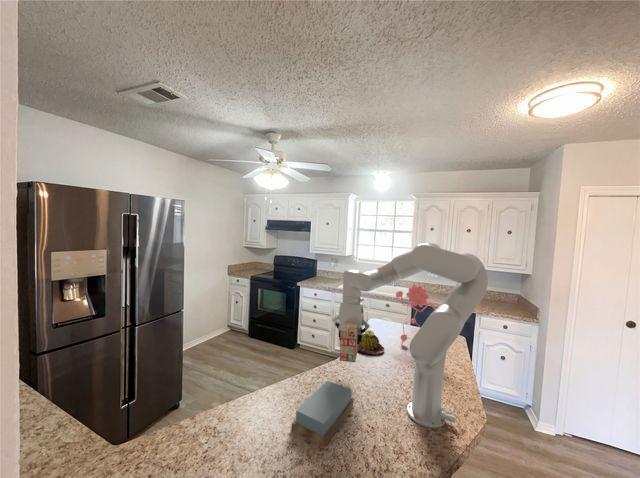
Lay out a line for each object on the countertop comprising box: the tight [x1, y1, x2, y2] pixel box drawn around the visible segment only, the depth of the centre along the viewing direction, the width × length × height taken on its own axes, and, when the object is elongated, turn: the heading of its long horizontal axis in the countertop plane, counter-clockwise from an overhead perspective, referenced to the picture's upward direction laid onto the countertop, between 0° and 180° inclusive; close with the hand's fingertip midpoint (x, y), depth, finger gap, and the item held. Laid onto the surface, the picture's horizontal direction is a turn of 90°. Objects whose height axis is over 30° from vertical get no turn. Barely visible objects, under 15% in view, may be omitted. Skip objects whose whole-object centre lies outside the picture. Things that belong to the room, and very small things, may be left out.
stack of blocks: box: [339, 322, 358, 363], centre depth 112 cm, size 21×6×12 cm, turn 168°
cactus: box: [357, 329, 385, 355], centre depth 146 cm, size 17×16×10 cm
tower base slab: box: [291, 397, 354, 448], centre depth 90 cm, size 12×22×4 cm, turn 151°
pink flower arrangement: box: [395, 284, 438, 346], centre depth 152 cm, size 15×26×35 cm, turn 44°
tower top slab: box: [295, 380, 352, 437], centre depth 89 cm, size 10×20×4 cm, turn 150°
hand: (350, 340), depth 112 cm, fingers closed on stack of blocks, 7 cm apart
